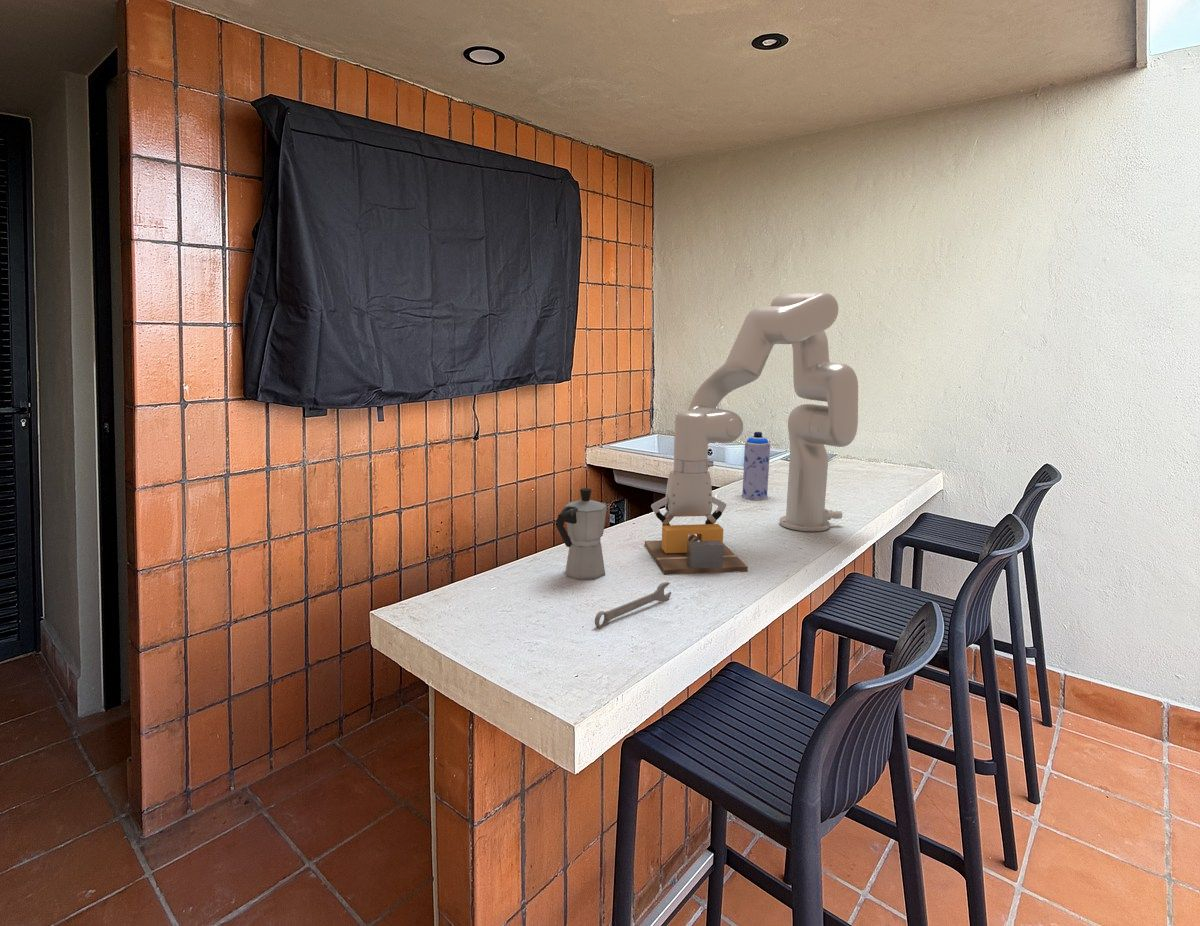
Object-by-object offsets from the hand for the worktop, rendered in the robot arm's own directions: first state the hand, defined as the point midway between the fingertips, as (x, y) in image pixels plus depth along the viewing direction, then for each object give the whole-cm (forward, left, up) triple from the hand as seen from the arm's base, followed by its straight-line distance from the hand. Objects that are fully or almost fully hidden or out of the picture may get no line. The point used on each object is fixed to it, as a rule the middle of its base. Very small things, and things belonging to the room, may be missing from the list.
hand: (687, 539), depth 160 cm
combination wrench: (+19, +34, -3) cm, 38 cm away
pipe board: (0, +5, -3) cm, 6 cm away
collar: (0, +4, -1) cm, 4 cm away
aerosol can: (-34, -48, -3) cm, 59 cm away
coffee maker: (+26, +13, -3) cm, 29 cm away
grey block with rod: (0, +6, -2) cm, 6 cm away
